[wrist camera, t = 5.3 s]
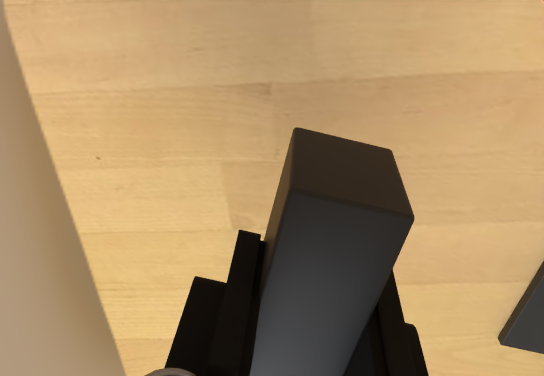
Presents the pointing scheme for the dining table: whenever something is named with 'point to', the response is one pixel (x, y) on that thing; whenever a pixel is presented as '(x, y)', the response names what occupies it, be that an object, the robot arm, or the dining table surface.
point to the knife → (327, 253)
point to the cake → (527, 319)
